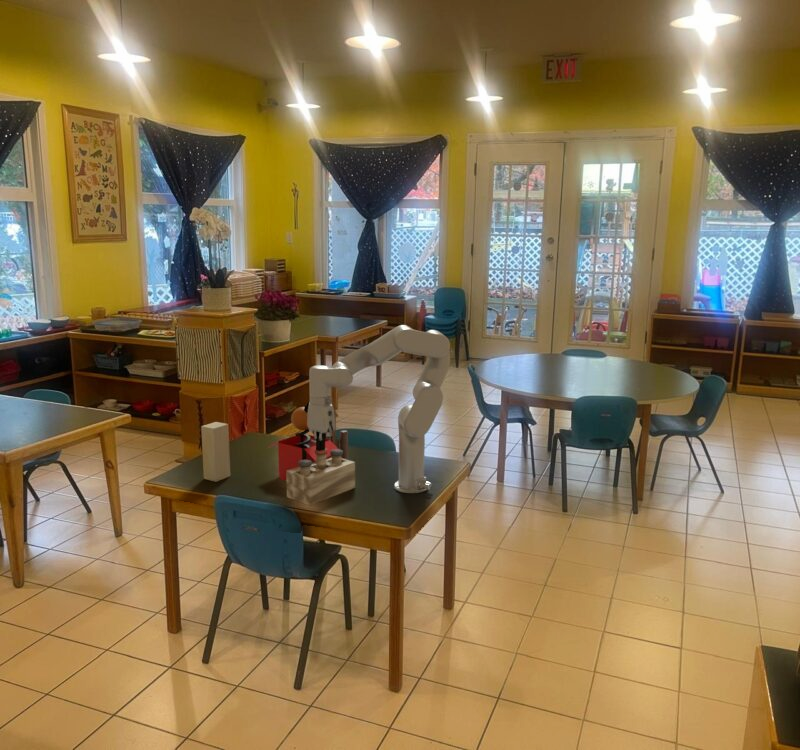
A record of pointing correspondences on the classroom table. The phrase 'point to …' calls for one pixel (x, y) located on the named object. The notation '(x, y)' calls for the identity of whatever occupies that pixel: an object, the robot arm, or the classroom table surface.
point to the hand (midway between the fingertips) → (320, 449)
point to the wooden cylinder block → (320, 481)
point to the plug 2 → (336, 456)
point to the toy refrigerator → (215, 451)
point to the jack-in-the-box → (298, 444)
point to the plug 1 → (305, 467)
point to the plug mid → (321, 459)
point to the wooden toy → (343, 439)
